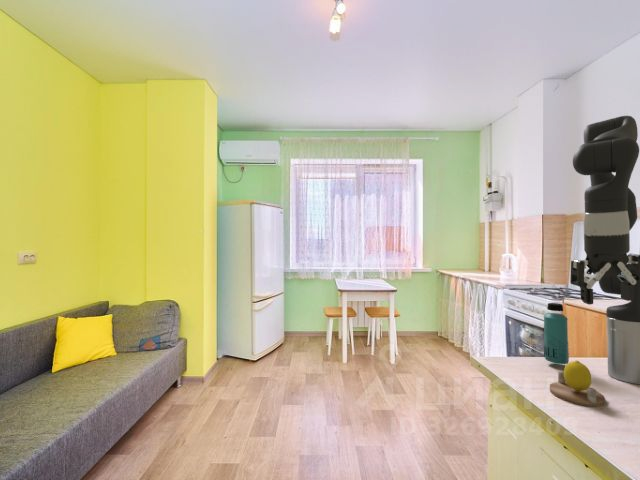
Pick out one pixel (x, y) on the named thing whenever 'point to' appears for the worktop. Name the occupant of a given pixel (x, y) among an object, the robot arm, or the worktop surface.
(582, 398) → the pin dish
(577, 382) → the lemon
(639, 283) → the robot arm
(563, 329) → the beverage bottle
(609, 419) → the worktop surface
